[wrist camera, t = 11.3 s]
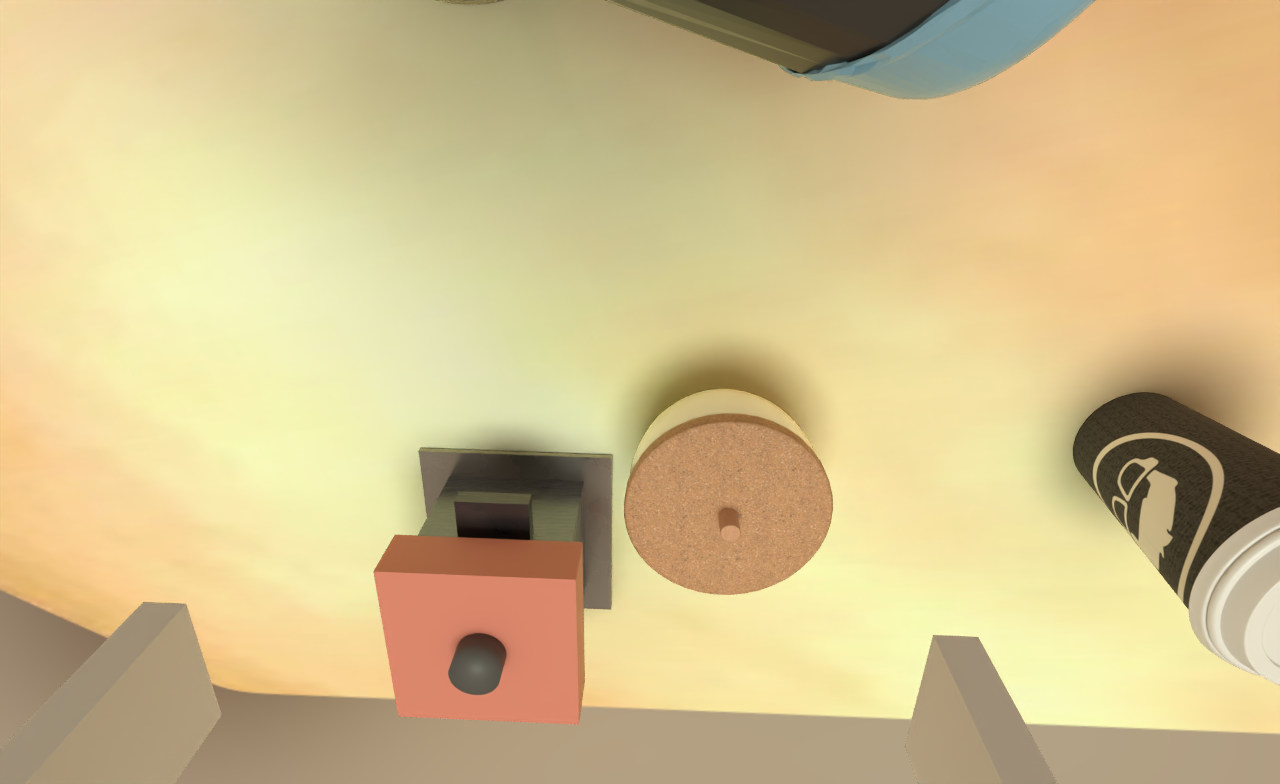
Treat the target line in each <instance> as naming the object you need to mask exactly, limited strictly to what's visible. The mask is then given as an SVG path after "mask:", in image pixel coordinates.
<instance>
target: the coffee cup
mask: <svg viewBox="0 0 1280 784" xmlns="http://www.w3.org/2000/svg"><path fill="white" fill-rule="evenodd" d="M1073 457H1074V462H1075V465H1076V467H1077V469H1078V471H1079V472H1080V473H1081V475H1082V476H1083V477H1084V479H1085V480H1086V481H1087V482H1088V484H1089V485H1090V486H1091V487H1092V489H1093V490H1094V491H1095V492H1096V494H1097V495H1098V496H1099V497H1100V499H1101V500H1102V501H1103V502H1104V504H1105V505H1106V506H1107V507H1108V509H1109V510H1110V511H1111V512H1112V514H1113V515H1114V516H1115V517H1116V519H1117V520H1118V521H1119V522H1120V524H1121V525H1122V526H1123V527H1124V529H1125V530H1126V531H1127V532H1128V534H1129V535H1130V536H1131V537H1132V539H1133V540H1134V541H1135V542H1136V544H1137V545H1138V546H1139V547H1140V549H1141V550H1142V551H1143V552H1144V554H1145V555H1146V556H1147V557H1148V559H1149V560H1150V561H1151V562H1152V564H1153V565H1154V566H1155V567H1156V569H1157V570H1158V571H1159V573H1160V574H1161V575H1162V576H1163V578H1164V579H1165V580H1166V581H1167V583H1168V584H1169V585H1170V586H1171V588H1172V589H1173V590H1174V592H1175V593H1176V594H1177V595H1178V597H1179V598H1180V599H1181V600H1182V602H1183V603H1184V604H1185V606H1186V607H1187V608H1188V609H1189V618H1190V623H1191V626H1192V629H1193V631H1194V633H1195V635H1196V636H1197V638H1198V639H1199V641H1200V642H1201V643H1202V644H1203V645H1204V646H1205V647H1206V648H1207V649H1208V650H1209V651H1211V652H1212V653H1214V654H1215V655H1217V656H1218V657H1220V658H1221V659H1223V660H1224V661H1226V662H1228V663H1229V664H1231V665H1233V666H1235V667H1238V668H1240V669H1242V670H1244V671H1246V672H1249V673H1252V674H1255V675H1258V676H1262V677H1264V678H1265V679H1267V680H1269V681H1271V682H1273V683H1275V684H1278V685H1280V454H1279V453H1277V452H1275V451H1273V450H1271V449H1269V448H1267V447H1265V446H1263V445H1261V444H1259V443H1257V442H1255V441H1253V440H1251V439H1249V438H1247V437H1245V436H1243V435H1241V434H1239V433H1237V432H1235V431H1233V430H1231V429H1229V428H1227V427H1225V426H1223V425H1222V424H1220V423H1218V422H1216V421H1214V420H1212V419H1210V418H1208V417H1206V416H1204V415H1202V414H1200V413H1198V412H1196V411H1194V410H1192V409H1190V408H1188V407H1186V406H1184V405H1182V404H1180V403H1178V402H1176V401H1174V400H1172V399H1170V398H1168V397H1166V396H1163V395H1160V394H1155V393H1135V394H1130V395H1126V396H1122V397H1120V398H1117V399H1115V400H1112V401H1110V402H1109V403H1107V404H1105V405H1103V406H1102V407H1101V408H1099V409H1098V410H1097V411H1095V412H1094V413H1093V414H1092V415H1091V416H1090V417H1089V418H1088V419H1087V420H1086V421H1085V423H1084V424H1083V425H1082V427H1081V428H1080V430H1079V432H1078V434H1077V436H1076V439H1075V443H1074V448H1073Z"/></svg>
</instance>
